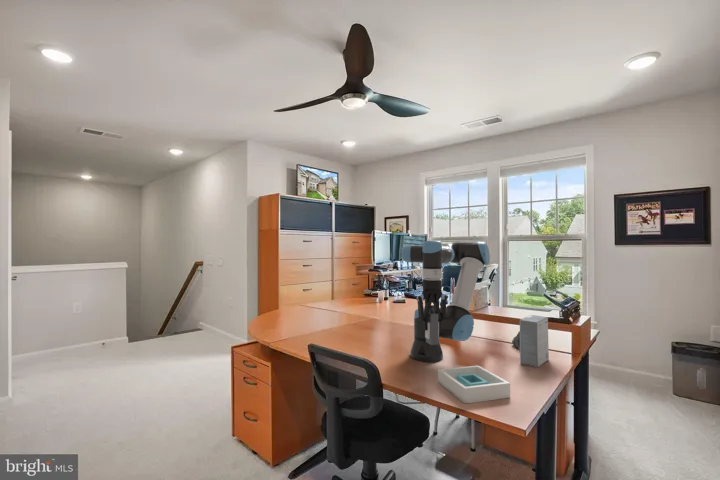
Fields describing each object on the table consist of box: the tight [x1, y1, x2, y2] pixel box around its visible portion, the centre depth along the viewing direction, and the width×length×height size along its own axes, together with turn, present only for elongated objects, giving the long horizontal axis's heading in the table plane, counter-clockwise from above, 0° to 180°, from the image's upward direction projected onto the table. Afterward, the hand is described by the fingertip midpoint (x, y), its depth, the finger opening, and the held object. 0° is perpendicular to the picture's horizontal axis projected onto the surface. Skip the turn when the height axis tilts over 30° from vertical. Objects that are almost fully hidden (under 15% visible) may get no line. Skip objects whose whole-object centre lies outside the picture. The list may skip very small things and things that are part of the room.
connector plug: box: [426, 304, 438, 345], centre depth 134 cm, size 4×3×15 cm
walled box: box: [437, 365, 511, 404], centre depth 123 cm, size 18×18×5 cm
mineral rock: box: [511, 330, 520, 350], centre depth 175 cm, size 13×11×10 cm
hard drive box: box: [519, 314, 550, 368], centre depth 154 cm, size 16×8×20 cm, turn 134°
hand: (432, 337), depth 134 cm, fingers closed on connector plug, 3 cm apart
